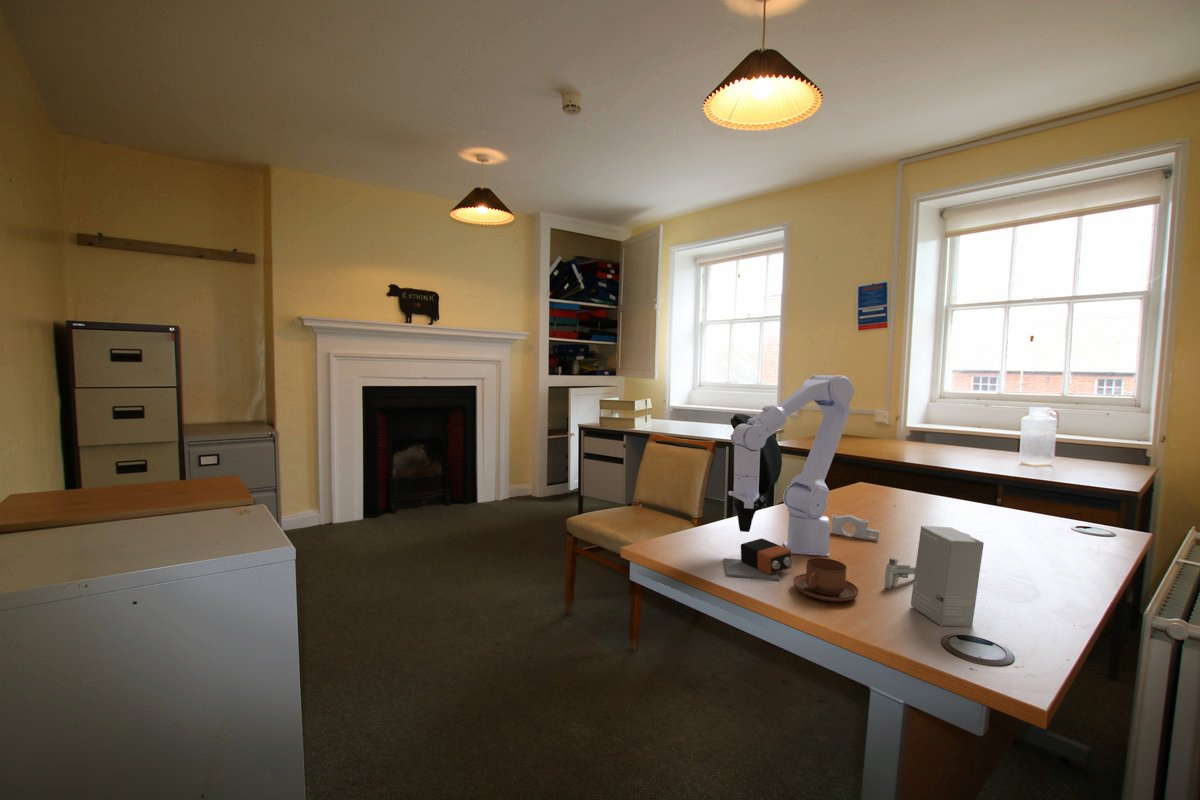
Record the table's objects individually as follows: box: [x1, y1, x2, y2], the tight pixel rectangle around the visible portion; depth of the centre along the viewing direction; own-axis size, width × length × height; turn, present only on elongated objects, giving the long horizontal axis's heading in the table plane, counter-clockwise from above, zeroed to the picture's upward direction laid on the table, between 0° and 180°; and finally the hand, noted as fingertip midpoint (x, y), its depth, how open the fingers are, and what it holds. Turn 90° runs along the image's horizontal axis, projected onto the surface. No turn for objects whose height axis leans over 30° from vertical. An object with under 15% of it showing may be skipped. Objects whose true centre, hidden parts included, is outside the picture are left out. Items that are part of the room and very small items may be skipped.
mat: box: [723, 557, 781, 582], centre depth 120 cm, size 11×10×1 cm
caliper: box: [884, 558, 916, 590], centre depth 116 cm, size 21×1×6 cm, turn 122°
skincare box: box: [910, 525, 985, 627], centre depth 98 cm, size 8×7×16 cm
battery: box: [740, 537, 794, 575], centre depth 120 cm, size 4×7×10 cm
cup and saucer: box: [793, 557, 859, 603], centre depth 108 cm, size 12×12×6 cm
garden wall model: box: [831, 513, 881, 542], centre depth 146 cm, size 12×2×6 cm, turn 56°
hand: (744, 530), depth 129 cm, fingers closed
